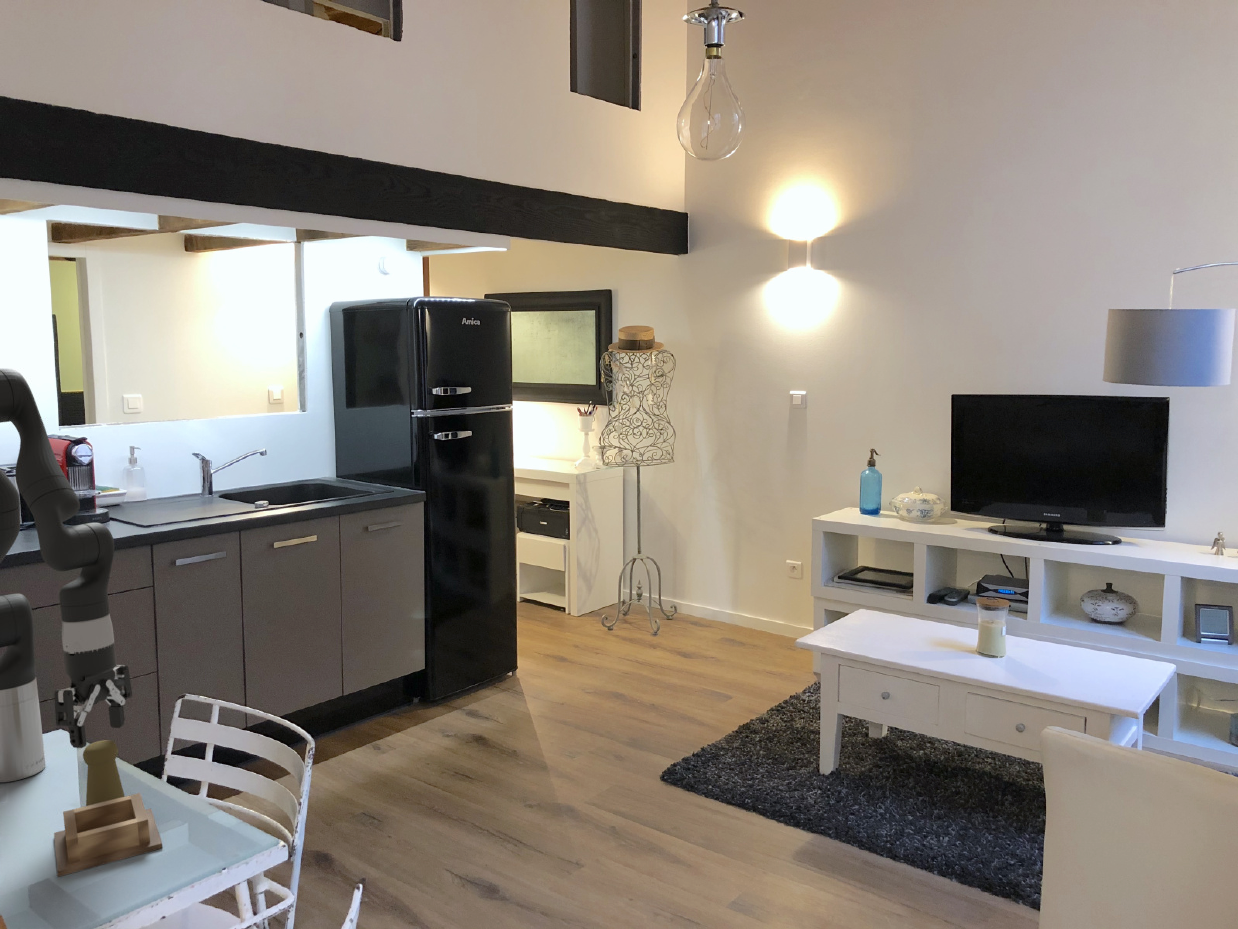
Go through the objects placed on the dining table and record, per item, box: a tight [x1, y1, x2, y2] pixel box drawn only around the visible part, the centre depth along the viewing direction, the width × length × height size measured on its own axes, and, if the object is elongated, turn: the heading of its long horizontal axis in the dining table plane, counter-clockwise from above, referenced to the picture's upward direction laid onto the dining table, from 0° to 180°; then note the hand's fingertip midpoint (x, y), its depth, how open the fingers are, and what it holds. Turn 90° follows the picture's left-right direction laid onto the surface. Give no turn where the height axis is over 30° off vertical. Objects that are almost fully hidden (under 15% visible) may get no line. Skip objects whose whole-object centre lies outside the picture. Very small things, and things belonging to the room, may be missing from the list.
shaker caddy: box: [53, 792, 163, 877], centre depth 150 cm, size 14×14×4 cm
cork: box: [82, 739, 125, 806], centre depth 162 cm, size 6×6×11 cm
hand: (98, 736), depth 161 cm, fingers open, 8 cm apart
